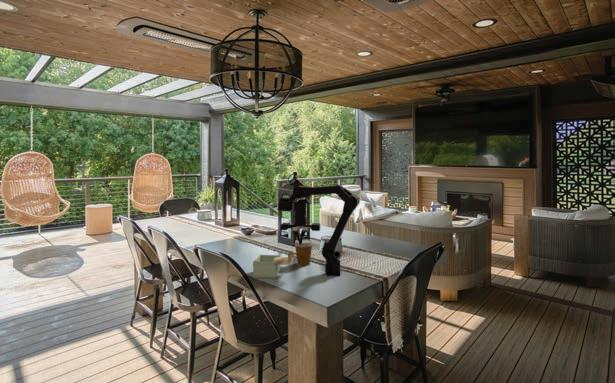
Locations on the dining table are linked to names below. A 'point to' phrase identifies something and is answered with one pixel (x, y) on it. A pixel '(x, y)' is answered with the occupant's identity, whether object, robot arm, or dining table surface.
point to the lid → (284, 259)
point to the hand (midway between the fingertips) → (300, 244)
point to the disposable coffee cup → (303, 252)
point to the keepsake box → (265, 267)
